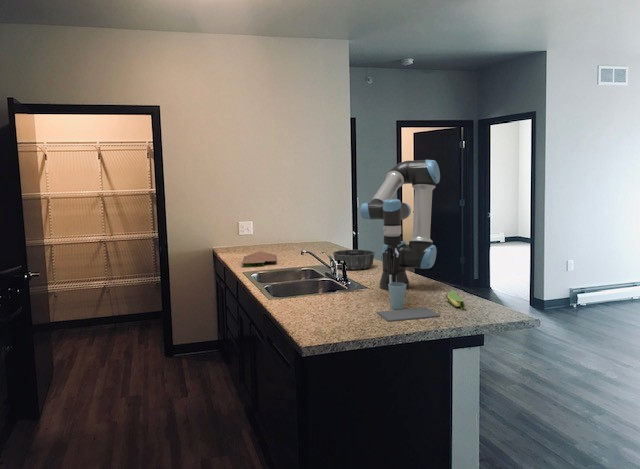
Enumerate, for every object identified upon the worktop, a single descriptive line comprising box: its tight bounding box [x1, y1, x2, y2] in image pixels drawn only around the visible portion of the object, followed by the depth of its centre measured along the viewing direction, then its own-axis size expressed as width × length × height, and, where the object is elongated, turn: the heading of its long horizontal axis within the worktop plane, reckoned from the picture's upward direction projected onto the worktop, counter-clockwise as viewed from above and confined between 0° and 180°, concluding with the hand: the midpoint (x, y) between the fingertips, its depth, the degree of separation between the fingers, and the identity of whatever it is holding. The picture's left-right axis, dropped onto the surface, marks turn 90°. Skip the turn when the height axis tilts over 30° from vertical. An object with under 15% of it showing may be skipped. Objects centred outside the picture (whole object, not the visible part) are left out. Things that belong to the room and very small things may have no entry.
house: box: [241, 251, 278, 267], centre depth 366 cm, size 23×33×8 cm
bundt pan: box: [332, 249, 376, 271], centre depth 334 cm, size 26×26×10 cm
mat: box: [376, 307, 441, 323], centre depth 220 cm, size 14×22×1 cm, turn 103°
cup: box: [388, 282, 407, 310], centre depth 231 cm, size 8×8×10 cm
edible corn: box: [445, 290, 466, 310], centre depth 233 cm, size 5×20×5 cm
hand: (393, 288), depth 235 cm, fingers closed
